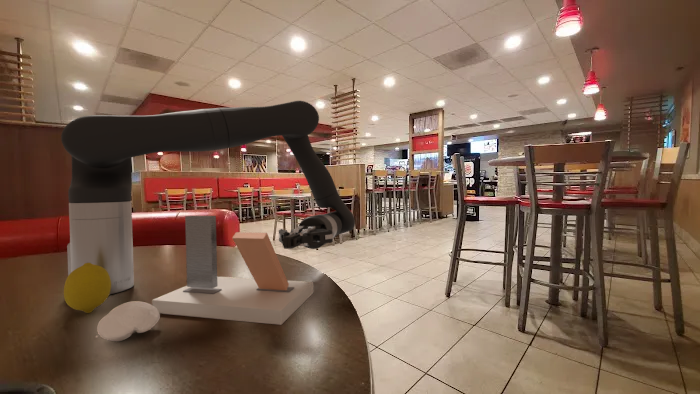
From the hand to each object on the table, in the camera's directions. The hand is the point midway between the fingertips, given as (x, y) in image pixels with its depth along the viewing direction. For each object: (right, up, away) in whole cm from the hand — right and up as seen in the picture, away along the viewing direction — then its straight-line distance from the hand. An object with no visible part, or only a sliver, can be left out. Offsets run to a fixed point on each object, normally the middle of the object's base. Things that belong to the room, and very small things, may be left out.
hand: (287, 243), depth 53 cm
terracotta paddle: (-1, -7, -4) cm, 9 cm away
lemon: (-30, -10, -8) cm, 32 cm away
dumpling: (-17, -10, -16) cm, 25 cm away
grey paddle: (-13, -7, -5) cm, 16 cm away
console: (-7, -9, -4) cm, 13 cm away
